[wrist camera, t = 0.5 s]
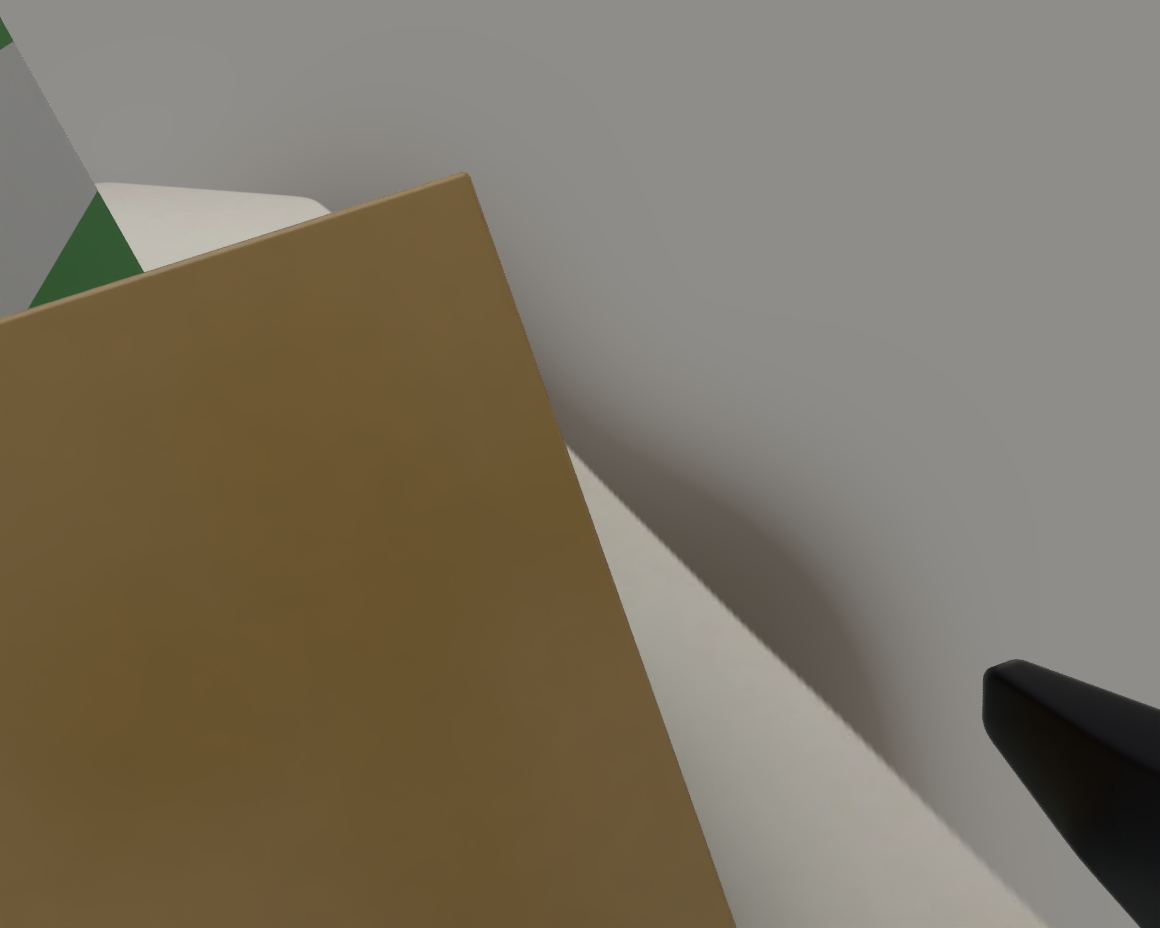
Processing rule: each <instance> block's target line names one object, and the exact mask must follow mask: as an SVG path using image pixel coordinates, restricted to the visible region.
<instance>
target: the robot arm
mask: <svg viewBox="0 0 1160 928" xmlns="http://www.w3.org/2000/svg"><path fill="white" fill-rule="evenodd" d="M982 708H983V709H982V719H983V723H984V727H985V730H986V732H987V734H988V736H989V738H990V739H991V741H992V742H993V744H994V745H995V746H996V748H997V749H998V750H999V752H1000V753H1001V754H1002V756H1003V757H1004V758H1005V760H1006V761H1007V763H1008V764H1009V765H1010V767H1011V768H1012V769H1013V771H1014V772H1015V773H1016V775H1017V776H1018V777H1019V779H1020V780H1021V781H1022V783H1023V784H1024V785H1025V787H1026V788H1027V790H1028V791H1029V792H1030V794H1031V795H1032V796H1033V798H1034V799H1035V800H1036V802H1037V803H1038V804H1039V806H1040V807H1041V809H1042V810H1043V811H1044V813H1045V814H1046V815H1047V817H1048V818H1049V819H1050V821H1051V822H1052V823H1053V825H1054V826H1055V828H1056V829H1057V830H1058V832H1059V833H1060V834H1061V835H1062V837H1063V838H1064V840H1065V841H1066V842H1067V843H1068V845H1069V846H1070V847H1071V849H1072V850H1073V851H1074V852H1075V854H1076V855H1077V856H1078V857H1079V859H1080V860H1081V861H1082V862H1083V863H1084V864H1085V866H1086V867H1087V868H1088V869H1089V870H1090V871H1091V873H1092V874H1093V875H1094V876H1095V877H1096V878H1097V879H1098V881H1099V882H1100V883H1101V884H1102V885H1103V886H1104V887H1105V888H1106V890H1107V891H1108V892H1109V893H1110V894H1111V895H1112V896H1113V897H1114V899H1115V900H1116V901H1117V902H1118V903H1119V904H1120V905H1121V906H1122V908H1123V909H1124V910H1125V911H1126V912H1127V913H1128V914H1129V915H1130V917H1131V918H1132V919H1133V920H1134V921H1135V922H1136V923H1137V924H1138V926H1139V927H1140V928H1160V709H1157V708H1154V707H1152V706H1149V705H1146V704H1143V703H1140V702H1138V701H1135V700H1132V699H1130V698H1127V697H1124V696H1121V695H1118V694H1116V693H1113V692H1110V691H1108V690H1105V689H1102V688H1099V687H1096V686H1094V685H1091V684H1088V683H1085V682H1083V681H1080V680H1077V679H1074V678H1072V677H1069V676H1066V675H1063V674H1060V673H1058V672H1055V671H1052V670H1049V669H1047V668H1044V667H1041V666H1039V665H1036V664H1033V663H1030V662H1027V661H1024V660H1018V659H1015V660H1010V661H1007V662H1005V663H1002V664H999V665H996V666H994V667H991V668H989V669H987V670H986V672H985V674H984V676H983V707H982Z"/></svg>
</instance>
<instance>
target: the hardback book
mask: <svg viewBox="0 0 1160 928" xmlns="http://www.w3.org/2000/svg"><path fill="white" fill-rule="evenodd" d="M141 273H144V271H143V270H142V268H141V266H140V264H139V263H138V261H137V259H136V257H135V256H134V254H133V252H132V250H131V248H130V247H129V245H128V243H127V241H126V240H125V238H124V236H123V234H122V232H121V231H120V229H119V227H118V225H117V224H116V222H115V220H114V218H113V217H112V215H111V213H110V211H109V209H108V208H107V206H106V204H105V202H104V201H103V199H102V197H101V195H100V193H99V192H98V190H97V188H96V186H95V185H94V183H93V181H92V180H91V178H90V176H89V174H88V172H87V170H86V169H85V167H84V165H83V163H82V162H81V160H80V158H79V156H78V154H77V153H76V151H75V149H74V148H73V146H72V144H71V142H70V140H69V139H68V137H67V135H66V133H65V131H64V130H63V128H62V126H61V124H60V123H59V121H58V119H57V117H56V116H55V114H54V112H53V110H52V108H51V107H50V105H49V103H48V101H47V100H46V98H45V96H44V94H43V93H42V91H41V89H40V87H39V85H38V84H37V82H36V80H35V78H34V77H33V75H32V73H31V71H30V69H29V68H28V66H27V64H26V62H25V61H24V59H23V57H22V55H21V54H20V52H19V50H18V48H17V46H16V45H15V43H14V41H13V39H12V38H11V36H10V34H9V32H8V30H7V29H6V27H5V25H4V23H3V22H2V20H1V18H0V318H2V317H5V316H8V315H11V314H14V313H18V312H21V311H24V310H27V309H30V308H33V307H37V306H40V305H43V304H46V303H49V302H52V301H56V300H59V299H62V298H65V297H68V296H71V295H75V294H78V293H81V292H84V291H87V290H90V289H93V288H97V287H100V286H103V285H106V284H109V283H112V282H116V281H119V280H122V279H125V278H128V277H131V276H135V275H138V274H141Z"/></svg>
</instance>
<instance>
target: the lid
mask: <svg viewBox="0 0 1160 928" xmlns="http://www.w3.org/2000/svg"><path fill="white" fill-rule="evenodd" d="M0 928H736V925H735V922H734V919H733V916H732V913H731V911H730V908H729V905H728V902H727V899H726V897H725V894H724V891H723V888H722V885H721V882H720V880H719V877H718V874H717V871H716V868H715V866H714V863H713V860H712V857H711V854H710V851H709V849H708V846H707V843H706V840H705V837H704V835H703V832H702V829H701V826H700V823H699V820H698V818H697V815H696V812H695V809H694V806H693V803H692V801H691V798H690V795H689V792H688V789H687V787H686V784H685V781H684V778H683V775H682V772H681V770H680V767H679V764H678V761H677V758H676V756H675V753H674V750H673V747H672V744H671V741H670V739H669V736H668V733H667V730H666V727H665V725H664V722H663V719H662V716H661V713H660V710H659V708H658V705H657V702H656V699H655V696H654V693H653V691H652V688H651V685H650V682H649V679H648V677H647V674H646V671H645V668H644V665H643V662H642V660H641V657H640V654H639V651H638V648H637V646H636V643H635V640H634V637H633V634H632V631H631V629H630V626H629V623H628V620H627V617H626V615H625V612H624V609H623V606H622V603H621V600H620V598H619V595H618V592H617V589H616V586H615V583H614V581H613V578H612V575H611V572H610V569H609V567H608V564H607V561H606V558H605V555H604V552H603V550H602V547H601V544H600V541H599V538H598V536H597V533H596V530H595V527H594V524H593V521H592V519H591V516H590V513H589V510H588V507H587V505H586V502H585V499H584V496H583V493H582V490H581V488H580V485H579V482H578V479H577V476H576V473H575V471H574V468H573V465H572V462H571V459H570V457H569V454H568V451H567V448H566V445H565V442H564V440H563V437H562V434H561V432H560V429H559V426H558V423H557V420H556V417H555V414H554V411H553V409H552V406H551V403H550V401H549V398H548V395H547V392H546V389H545V386H544V383H543V380H542V378H541V375H540V372H539V369H538V367H537V364H536V361H535V358H534V355H533V352H532V350H531V347H530V344H529V341H528V338H527V335H526V333H525V330H524V327H523V324H522V321H521V318H520V316H519V313H518V310H517V307H516V304H515V302H514V299H513V296H512V293H511V290H510V287H509V285H508V282H507V279H506V276H505V273H504V270H503V268H502V265H501V262H500V259H499V256H498V253H497V251H496V248H495V245H494V242H493V239H492V237H491V234H490V232H489V228H488V225H487V222H486V220H485V217H484V214H483V211H482V208H481V206H480V203H479V200H478V197H477V194H476V191H475V189H474V186H473V183H472V180H471V177H470V176H469V175H468V173H465V172H461V173H457V174H454V175H451V176H448V177H445V178H441V179H438V180H435V181H432V182H429V183H426V184H423V185H419V186H416V187H413V188H410V189H407V190H403V191H401V192H397V193H394V194H391V195H388V196H384V197H382V198H378V199H375V200H372V201H369V202H366V203H362V204H359V205H356V206H353V207H350V208H347V209H343V210H340V211H337V212H334V213H331V214H327V215H324V216H321V217H318V218H315V219H312V220H309V221H305V222H302V223H299V224H296V225H293V226H290V227H286V228H283V229H280V230H277V231H274V232H271V233H267V234H264V235H261V236H258V237H255V238H252V239H248V240H245V241H242V242H239V243H236V244H233V245H229V246H226V247H223V248H220V249H217V250H214V251H210V252H207V253H204V254H201V255H198V256H195V257H192V258H188V259H185V260H182V261H179V262H176V263H173V264H169V265H166V266H163V267H160V268H157V269H154V270H150V271H147V272H144V273H141V274H138V275H135V276H131V277H128V278H125V279H122V280H119V281H116V282H112V283H109V284H106V285H103V286H100V287H97V288H93V289H90V290H87V291H84V292H81V293H78V294H75V295H71V296H68V297H65V298H62V299H59V300H56V301H52V302H49V303H46V304H43V305H40V306H37V307H33V308H30V309H27V310H24V311H21V312H18V313H14V314H11V315H8V316H5V317H2V318H0Z"/></svg>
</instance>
